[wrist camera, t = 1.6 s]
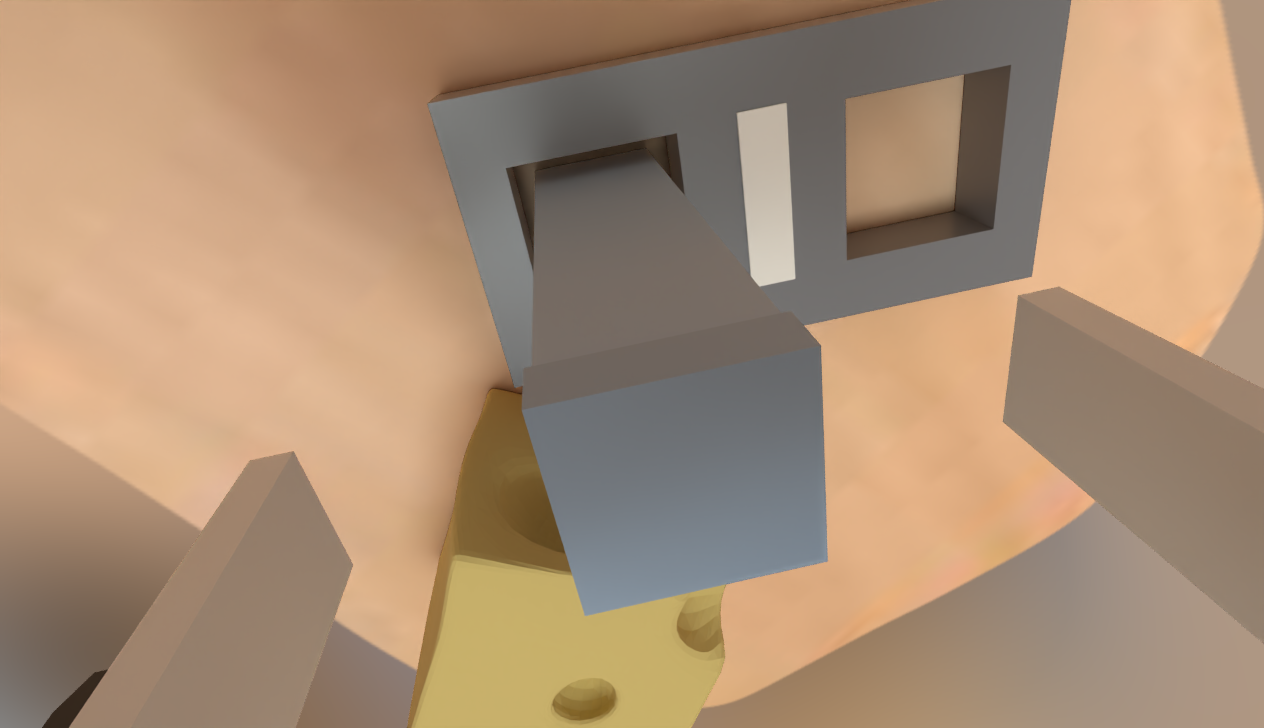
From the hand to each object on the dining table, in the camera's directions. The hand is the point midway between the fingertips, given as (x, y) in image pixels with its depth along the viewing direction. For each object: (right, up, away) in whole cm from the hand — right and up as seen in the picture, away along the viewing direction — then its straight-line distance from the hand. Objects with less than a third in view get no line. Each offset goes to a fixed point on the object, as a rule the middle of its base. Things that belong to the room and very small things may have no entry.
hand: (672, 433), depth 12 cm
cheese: (-4, -5, +18) cm, 19 cm away
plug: (-2, +7, +12) cm, 14 cm away
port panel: (+4, +8, +12) cm, 15 cm away
